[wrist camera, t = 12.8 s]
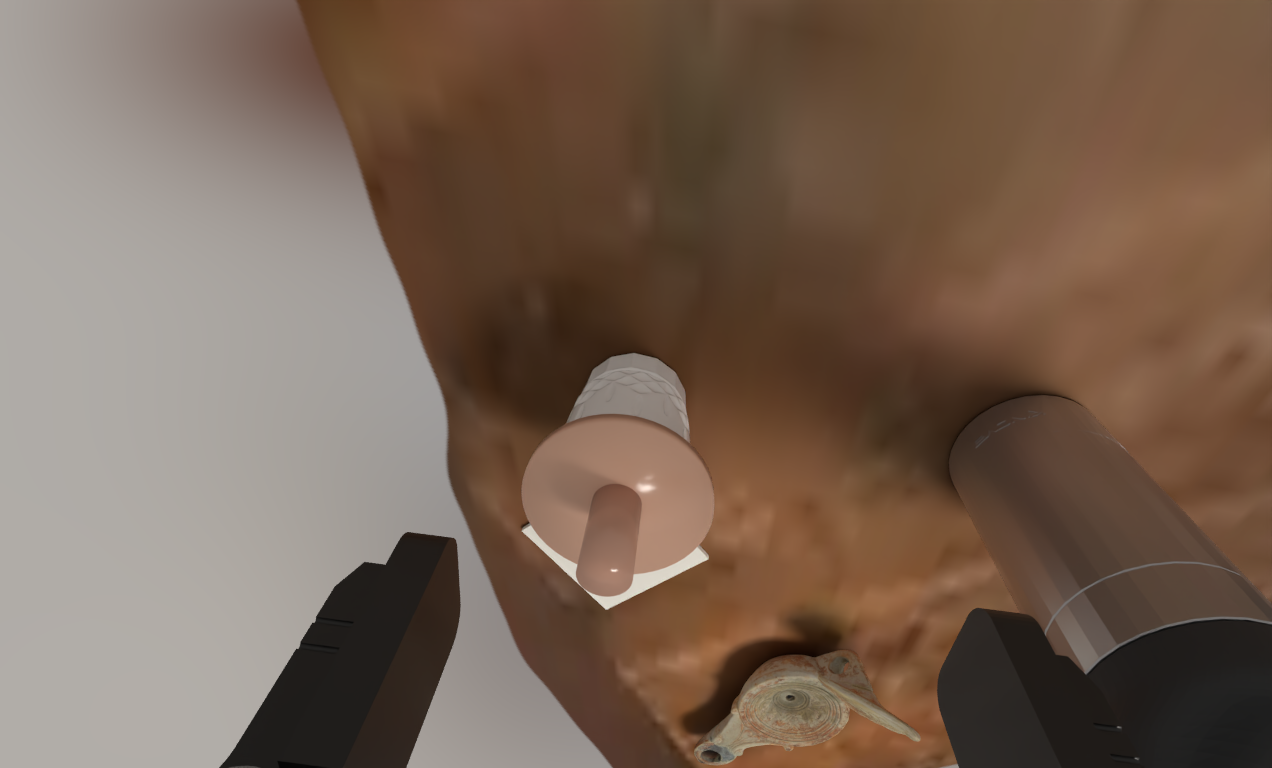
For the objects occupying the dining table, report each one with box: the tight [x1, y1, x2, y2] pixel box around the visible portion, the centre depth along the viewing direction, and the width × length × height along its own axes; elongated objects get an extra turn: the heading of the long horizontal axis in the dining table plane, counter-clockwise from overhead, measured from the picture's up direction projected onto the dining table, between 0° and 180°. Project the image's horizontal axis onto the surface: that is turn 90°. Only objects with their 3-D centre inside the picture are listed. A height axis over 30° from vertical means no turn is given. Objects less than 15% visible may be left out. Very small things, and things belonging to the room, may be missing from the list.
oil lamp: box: [694, 650, 920, 765], centre depth 52 cm, size 9×21×10 cm, turn 141°
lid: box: [521, 414, 714, 597], centre depth 32 cm, size 10×10×6 cm
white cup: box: [567, 353, 690, 443], centre depth 39 cm, size 8×8×10 cm
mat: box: [522, 523, 709, 610], centre depth 50 cm, size 10×10×1 cm
